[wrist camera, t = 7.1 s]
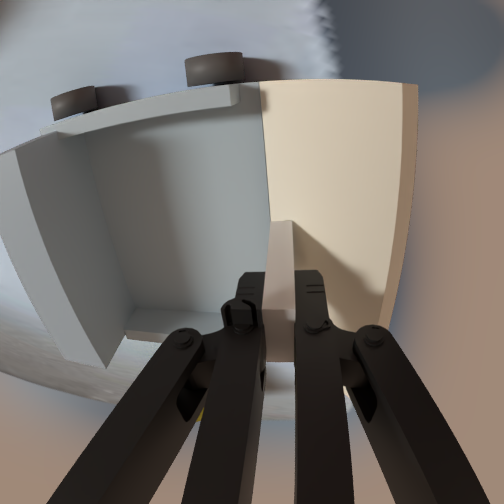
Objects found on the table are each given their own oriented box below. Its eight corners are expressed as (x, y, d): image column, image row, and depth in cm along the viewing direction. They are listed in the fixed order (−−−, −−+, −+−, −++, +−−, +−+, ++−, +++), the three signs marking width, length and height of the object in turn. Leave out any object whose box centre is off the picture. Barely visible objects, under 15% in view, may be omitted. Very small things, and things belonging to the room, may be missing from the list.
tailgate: (277, 330, 22) (356, 404, 16) (259, 81, 14) (402, 82, 8) (291, 322, 22) (370, 393, 16) (279, 80, 14) (420, 85, 8)
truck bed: (121, 307, 28) (78, 378, 21) (61, 98, 18) (-31, 127, 11) (280, 314, 26) (270, 407, 18) (261, 53, 16) (231, 32, 8)
